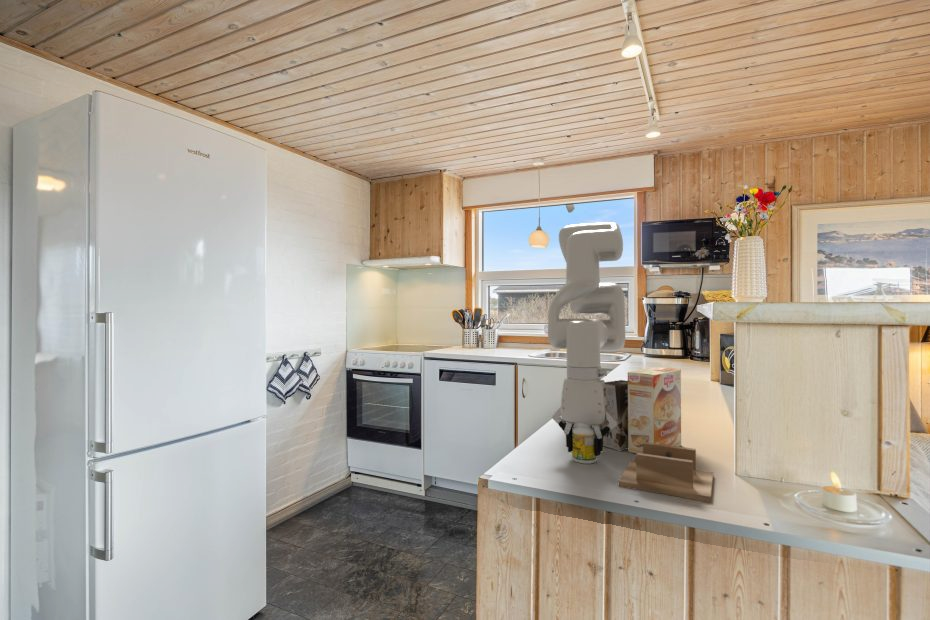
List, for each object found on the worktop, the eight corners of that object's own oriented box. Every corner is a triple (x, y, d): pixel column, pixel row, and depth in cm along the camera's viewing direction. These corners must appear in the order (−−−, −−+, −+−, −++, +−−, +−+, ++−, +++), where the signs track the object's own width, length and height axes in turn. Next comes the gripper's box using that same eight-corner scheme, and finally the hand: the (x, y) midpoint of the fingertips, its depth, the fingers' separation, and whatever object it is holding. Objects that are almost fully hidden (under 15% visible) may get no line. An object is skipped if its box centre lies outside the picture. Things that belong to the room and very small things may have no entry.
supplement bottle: (601, 463, 103) (600, 420, 103) (579, 465, 102) (579, 422, 102) (588, 455, 109) (588, 415, 108) (568, 457, 107) (568, 416, 107)
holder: (631, 464, 102) (631, 437, 102) (713, 477, 94) (712, 447, 94) (618, 486, 90) (617, 455, 90) (710, 502, 82) (710, 468, 82)
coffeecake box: (655, 458, 106) (654, 374, 106) (626, 452, 111) (625, 371, 111) (683, 445, 116) (682, 368, 116) (655, 439, 121) (654, 366, 121)
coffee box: (620, 451, 111) (619, 385, 111) (599, 445, 117) (598, 382, 117) (643, 445, 116) (642, 381, 116) (622, 439, 122) (621, 378, 122)
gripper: (625, 374, 104) (626, 453, 104) (553, 369, 113) (554, 443, 113) (618, 378, 98) (619, 463, 98) (542, 373, 106) (543, 451, 106)
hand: (584, 451), depth 105 cm, fingers closed on supplement bottle, 5 cm apart
